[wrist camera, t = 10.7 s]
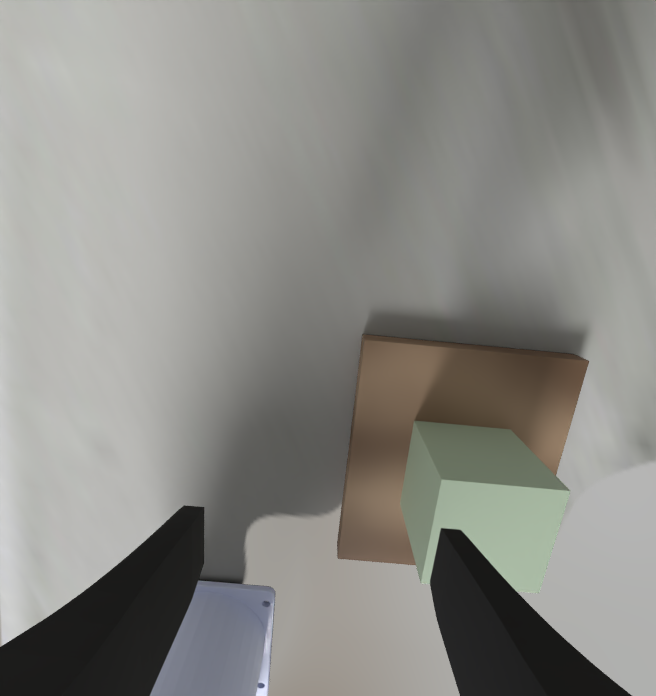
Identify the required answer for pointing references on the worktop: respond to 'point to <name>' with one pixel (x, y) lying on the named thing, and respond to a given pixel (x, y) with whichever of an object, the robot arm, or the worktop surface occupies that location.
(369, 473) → the cutting board
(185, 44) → the worktop surface
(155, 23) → the worktop surface
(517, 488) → the green cube
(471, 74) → the worktop surface
